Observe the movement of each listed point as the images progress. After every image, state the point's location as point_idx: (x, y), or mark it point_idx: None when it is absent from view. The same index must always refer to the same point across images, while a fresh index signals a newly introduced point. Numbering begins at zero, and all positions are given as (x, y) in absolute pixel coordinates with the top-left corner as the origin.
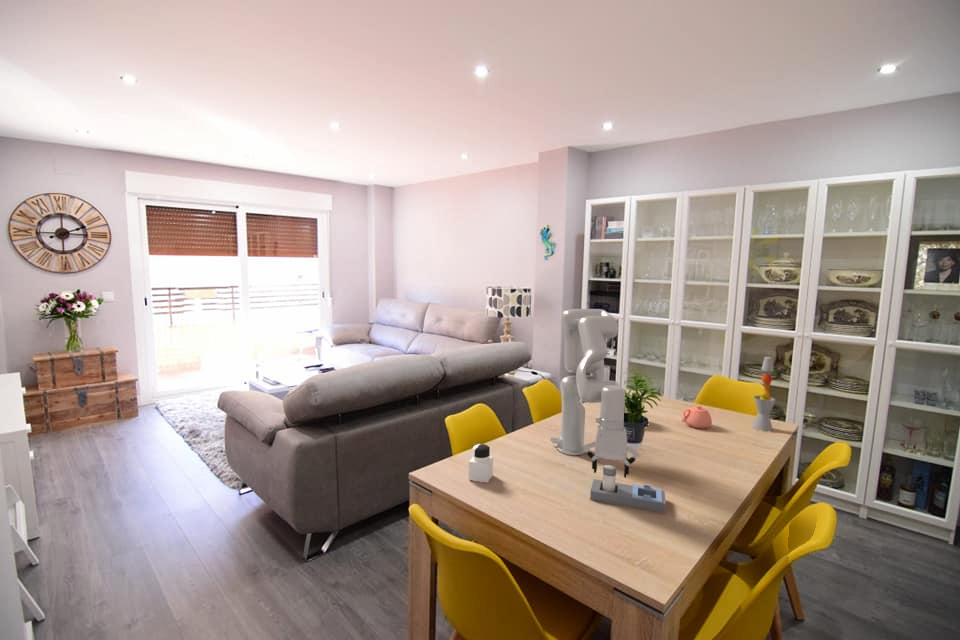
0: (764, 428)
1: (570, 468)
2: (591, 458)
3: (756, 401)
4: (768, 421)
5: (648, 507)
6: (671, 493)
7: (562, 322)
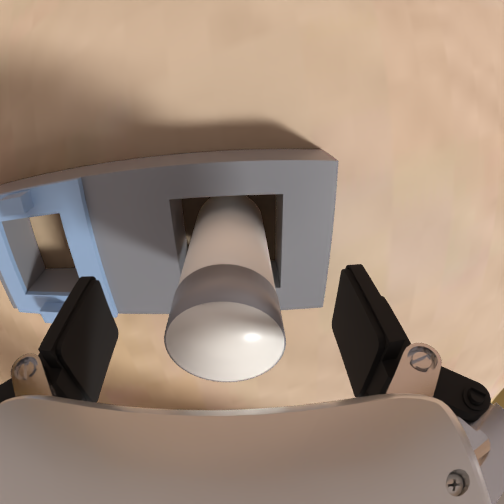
0: None
1: None
2: (440, 361)
3: None
4: None
5: (34, 178)
6: (34, 330)
7: None
